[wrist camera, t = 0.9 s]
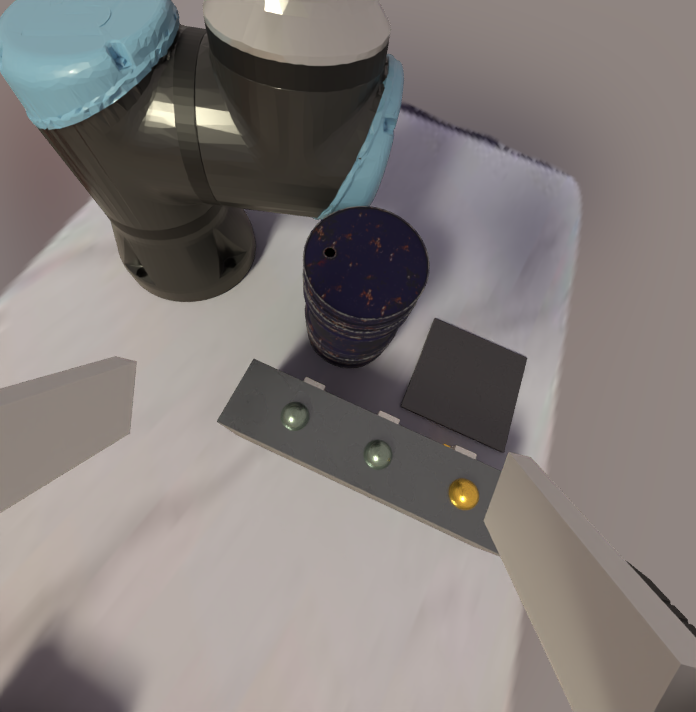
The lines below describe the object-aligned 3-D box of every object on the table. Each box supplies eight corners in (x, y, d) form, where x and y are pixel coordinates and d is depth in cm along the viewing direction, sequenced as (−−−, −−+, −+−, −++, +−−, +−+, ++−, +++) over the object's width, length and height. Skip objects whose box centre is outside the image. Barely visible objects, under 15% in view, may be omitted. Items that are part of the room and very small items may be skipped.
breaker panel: (236, 435, 35) (212, 418, 27) (327, 273, 43) (331, 220, 35) (478, 548, 34) (535, 570, 25) (525, 358, 42) (581, 325, 33)
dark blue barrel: (395, 298, 42) (437, 218, 27) (384, 376, 39) (424, 332, 25) (315, 282, 41) (315, 193, 27) (298, 359, 39) (287, 306, 24)
